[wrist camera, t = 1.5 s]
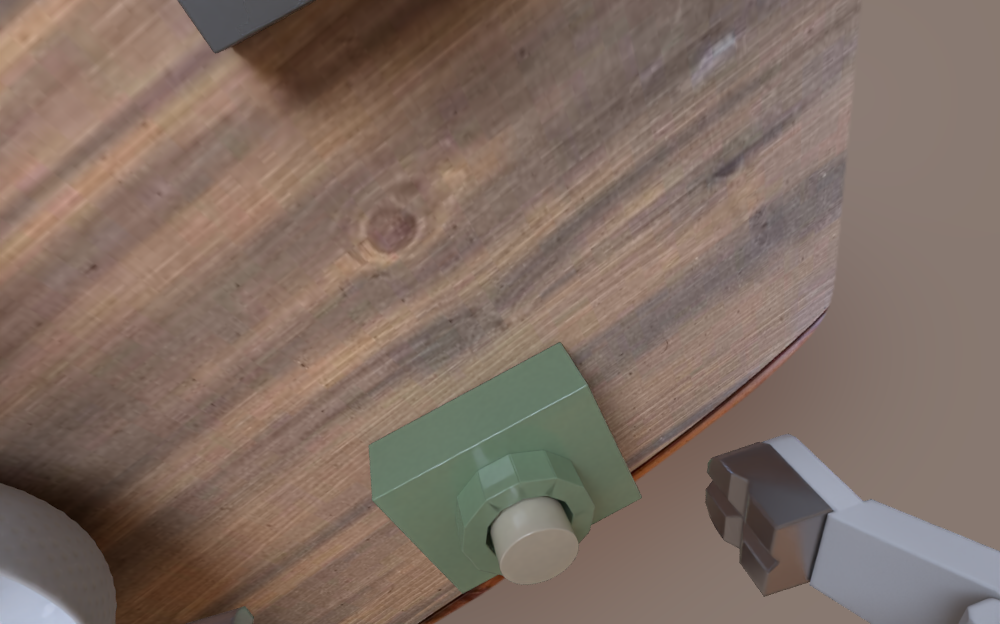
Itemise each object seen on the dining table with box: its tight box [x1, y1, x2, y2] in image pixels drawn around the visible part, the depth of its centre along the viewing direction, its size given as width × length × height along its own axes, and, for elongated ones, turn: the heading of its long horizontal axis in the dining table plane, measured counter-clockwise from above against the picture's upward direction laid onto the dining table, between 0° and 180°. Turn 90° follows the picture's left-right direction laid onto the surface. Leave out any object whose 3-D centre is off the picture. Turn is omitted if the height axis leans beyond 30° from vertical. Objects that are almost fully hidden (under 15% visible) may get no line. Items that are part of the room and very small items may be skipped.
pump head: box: [490, 496, 579, 585], centre depth 27 cm, size 4×4×2 cm
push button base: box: [369, 342, 642, 593], centre depth 30 cm, size 12×10×6 cm
